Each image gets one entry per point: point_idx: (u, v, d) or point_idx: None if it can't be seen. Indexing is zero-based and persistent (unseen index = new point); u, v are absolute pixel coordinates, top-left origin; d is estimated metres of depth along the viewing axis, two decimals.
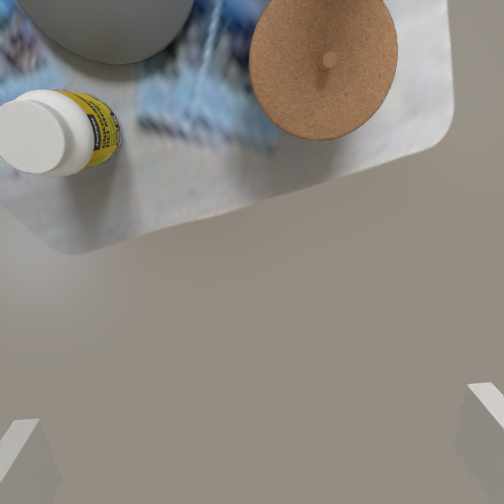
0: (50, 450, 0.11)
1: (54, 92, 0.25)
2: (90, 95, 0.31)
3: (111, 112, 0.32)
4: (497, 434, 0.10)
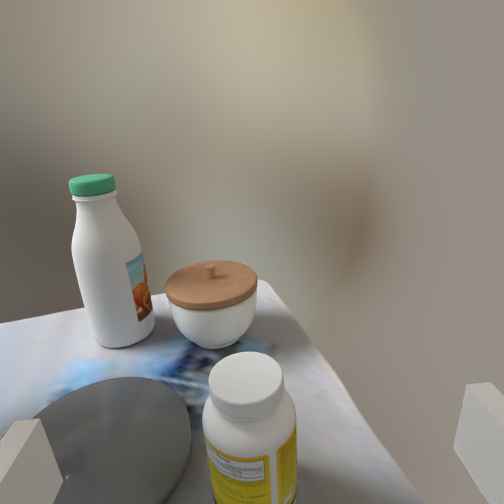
0: (50, 450, 0.11)
1: (207, 400, 0.25)
2: None
3: None
4: (497, 434, 0.10)
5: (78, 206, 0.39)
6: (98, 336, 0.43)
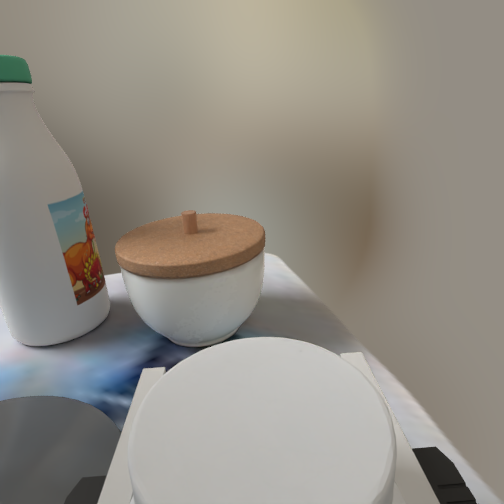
0: None
1: None
2: None
3: None
4: None
5: None
6: (13, 328, 0.27)
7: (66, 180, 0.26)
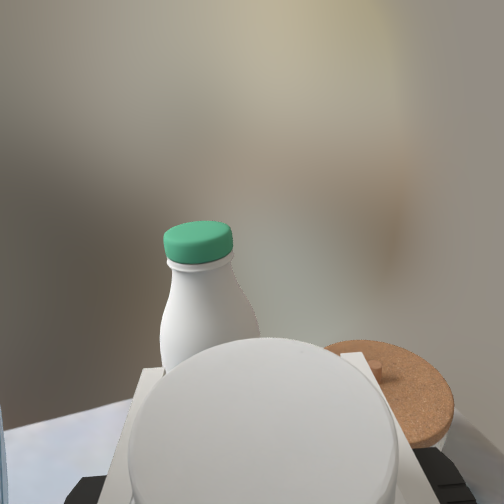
0: None
1: None
2: None
3: None
4: None
5: (178, 277, 0.24)
6: None
7: (257, 333, 0.26)
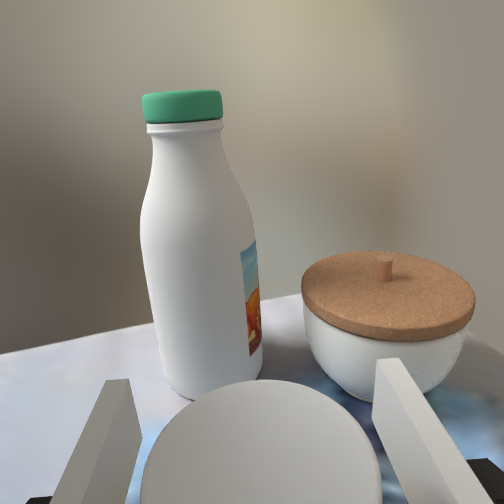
0: (134, 409, 0.13)
1: None
2: None
3: None
4: (393, 400, 0.11)
5: (159, 145, 0.21)
6: (181, 382, 0.25)
7: (251, 223, 0.23)
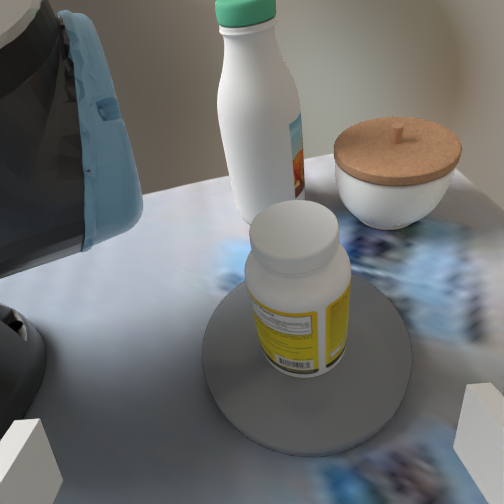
0: (50, 450, 0.11)
1: None
2: None
3: None
4: (497, 434, 0.10)
5: (230, 44, 0.28)
6: (249, 214, 0.38)
7: (297, 100, 0.31)
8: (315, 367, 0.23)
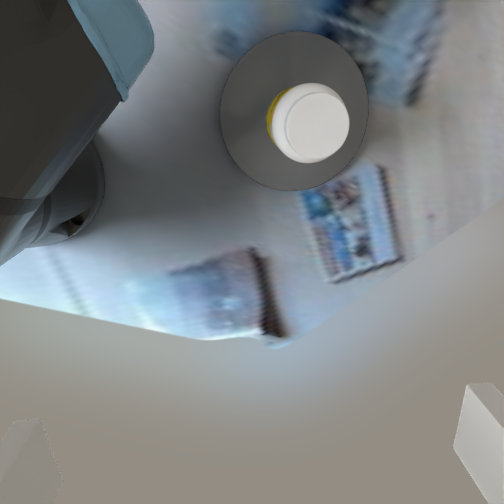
0: (50, 450, 0.11)
1: (275, 111, 0.29)
2: (268, 108, 0.35)
3: (283, 90, 0.34)
4: (497, 434, 0.10)
5: None
6: None
7: None
8: None
